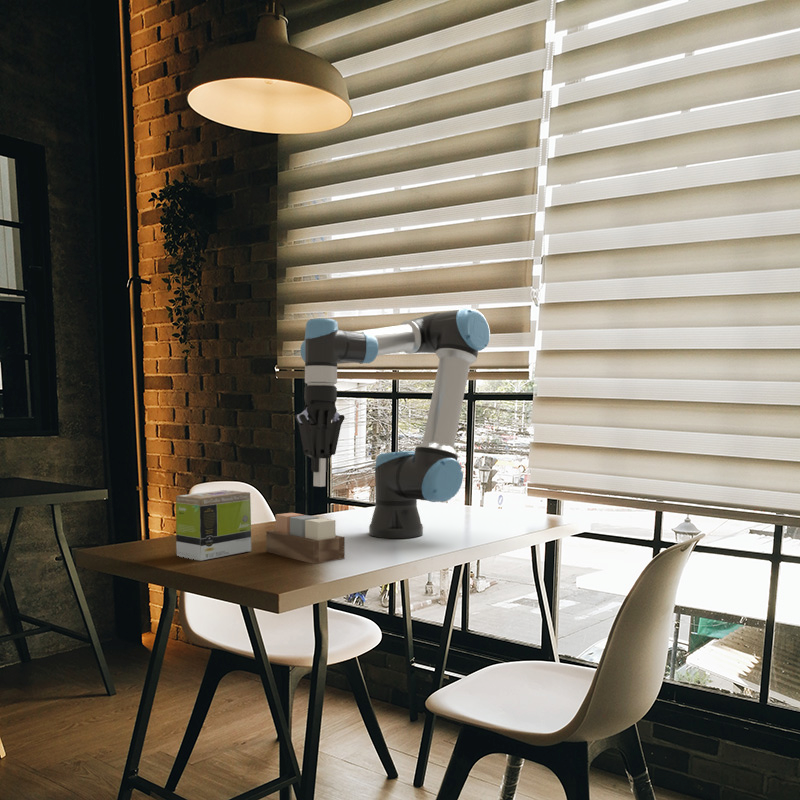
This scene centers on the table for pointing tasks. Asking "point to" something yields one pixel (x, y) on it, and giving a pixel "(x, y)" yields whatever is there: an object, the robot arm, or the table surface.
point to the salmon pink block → (284, 522)
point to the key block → (305, 547)
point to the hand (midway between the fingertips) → (319, 486)
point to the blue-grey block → (299, 525)
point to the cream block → (320, 529)
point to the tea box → (213, 524)
